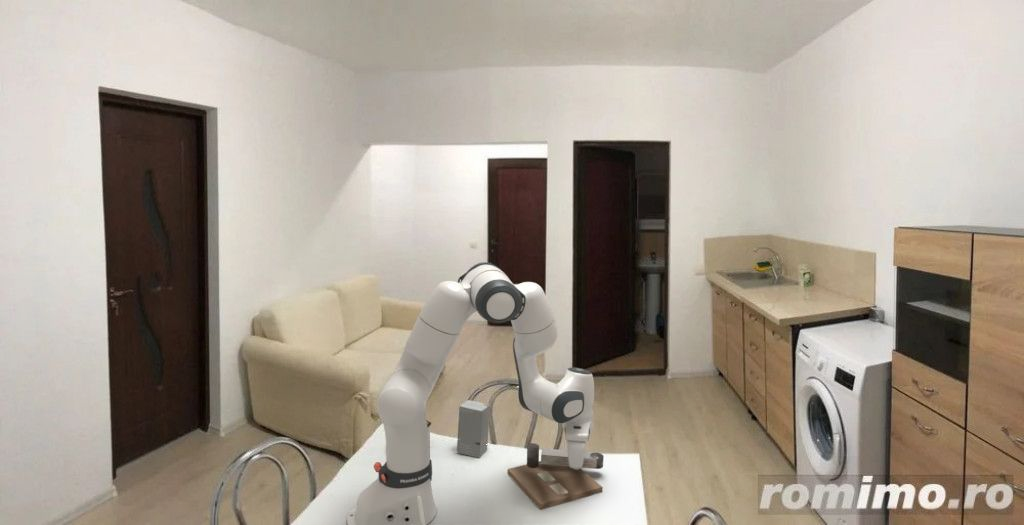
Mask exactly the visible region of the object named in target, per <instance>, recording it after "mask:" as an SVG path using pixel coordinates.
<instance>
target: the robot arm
mask: <svg viewBox="0 0 1024 525" xmlns="http://www.w3.org/2000/svg"><path fill="white" fill-rule="evenodd" d="M476 312H477V313H478V314H479V316H480V317H481V318H483V319H484V320H486V321H487V322H490V323H492V324H493V323H494V324H501V323H506V322H509V321H510V322H511V326H512V329H513V333H514V338H513V341H512V353H513V359H514V364H515V369H516V374H517V379H518V380H517V381H518V390H517V391H518V392H517V393H518V402H519V404H520V406H521V407H522V408H523V409H525V410H526V411H530V412H532V413H535V414H537V415H539V416H541V417H543V418H546V419H549V420H551V421H553V422H555V423H559V424H562V430H563V432H564V440H565V441H566V443H567V444H566V446H567V450H568V462H569V467H570V468H573V469H575V470H578V469H583V468H582V466H583V461H584V455H585V452H586V447H587V442H588V441H589V439H590V435H591V434H592V432H593V430H594V409H593V406H594V405H593V404H594V402H595V381H594V380H595V379H594V377H593V376H594V375H593V374H592V372H590V370H587V369H586V368H585V369H584V368H580V367H568V368H567V369H566V371H565V374H564V376H563V377H562V379H561V380H560V381H559V382H557V383H555V382H553V381H552V382H551V381H549V380H547V379H546V378H544V376H542V375H541V374H540V373H539V368H538V362H537V356H539V355H542V354H544V353H546V352H547V351H548V350H550V349H551V348H552V347H553V346H554V345H555V342H556V341H557V338H558V327H557V323H556V320H555V317H554V313H553V310H552V306H551V304H550V302H549V298H548V297H547V295H546V293H545V291H544V289H543V288H542V286H540V285H539V284H538V283H536V282H533V281H523V282H521V283H513V281H511V279H510V278H509V277H508V275H507V274H506V273H505V272H504V271H502V269H501V268H500V267H498V266H497V265H496V264H494V263H492V262H485V261H484V262H478V263H476V264H474V265H473V266H471V267H469V269H468V270H467V271H466V272H464V273H463V274H462V275H460V277H459V278H458V280H457V281H453V280H444V281H442V282H440V283H439V284H437V286H436V287H435V288H434V290H433V291H432V292H431V293H430V295H429V297H428V298H427V300H426V301H425V303H424V305H423V306H422V308H421V310H420V313H419V314H418V316H417V319H416V320H415V322H414V325H413V327H412V329H411V332H410V333H409V336H408V338H407V340H406V343H405V346H404V349H403V351H402V352H401V353H402V354H401V356H400V358H399V361H398V363H397V366H396V367H395V369H394V371H393V372H392V374H391V375H390V377H389V378H388V379H387V381H386V382H385V383H384V384H383V386H382V387H381V389H380V391H379V394H378V398H377V403H376V409H377V410H376V411H377V414H378V416H379V417H380V419H381V420H382V421H381V422H382V425H383V428H384V433H385V434H384V435H385V462H384V464H383V465H382V463H381V462H380V461H377V462H375V463H374V464H373V470H374V471H375V472H376V473H377V474H378V476H377V477H378V478H377V479H375V480H374V481H373V482H372V483H371V484H369V485H368V486H367V487H366V488H365V489H363V490H362V491H361V492H360V493H359V495H358V498H357V501H356V506H355V507H352V508H351V509H350V510H349V511H348V514H347V516H346V525H429V523H431V522H432V521H433V520H434V519H435V517H436V515H437V511H438V509H437V506H436V504H435V499H434V494H433V489H432V480H433V479H432V478H433V464H432V463H433V462H432V459H431V434H430V432H431V431H430V429H429V427H427V422H426V420H427V417H426V415H427V414H426V407H427V401H428V399H429V397H430V396H431V393H432V392H433V390H434V388H435V386H436V383H437V381H438V379H439V377H440V376H441V373H442V372H443V369H444V367H445V365H446V363H447V360H448V358H449V357H450V355H451V352H452V350H453V349H454V347H455V344H456V342H457V341H458V338H459V336H460V334H461V332H462V330H463V328H464V326H465V323H466V322H467V320H468V319H469V318H470V316H472V315H473V314H474V313H476Z"/></svg>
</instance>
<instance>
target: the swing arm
mask: <svg viewBox="0 0 1024 525" xmlns="http://www.w3.org/2000/svg"><path fill="white" fill-rule="evenodd" d="M604 457H605V456H604V455H603V454H602V453H599V452H592V451H585V455H584V461H583V466H582V468H581V469H593V470H595V469H596V470H599V469H600V470H601V469H602V468H603V467H604ZM540 461H541V464H545V465H557V466H569V462H568V449H554V448H541V453H540Z"/></svg>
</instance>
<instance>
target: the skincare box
mask: <svg viewBox="0 0 1024 525" xmlns="http://www.w3.org/2000/svg"><path fill="white" fill-rule="evenodd" d="M490 410H491V405H490V404H487V403H483V402H481V401H475V400H471V399H470V400H469V399H466V401H464V402H463V403H462V404H460V405H459V411H458V424H457V425H458V427H457V429H458V430H457V441H456V442H457V443H456V453H457V454H459V455H463V456H464V455H466V456H470V457H473V458H478V459H480V458H481V457H482V456H483V455H484V454H485V453H486V451H487V450H488V443H489V442H488V439H489V424H490ZM486 444H487V445H486Z"/></svg>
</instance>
